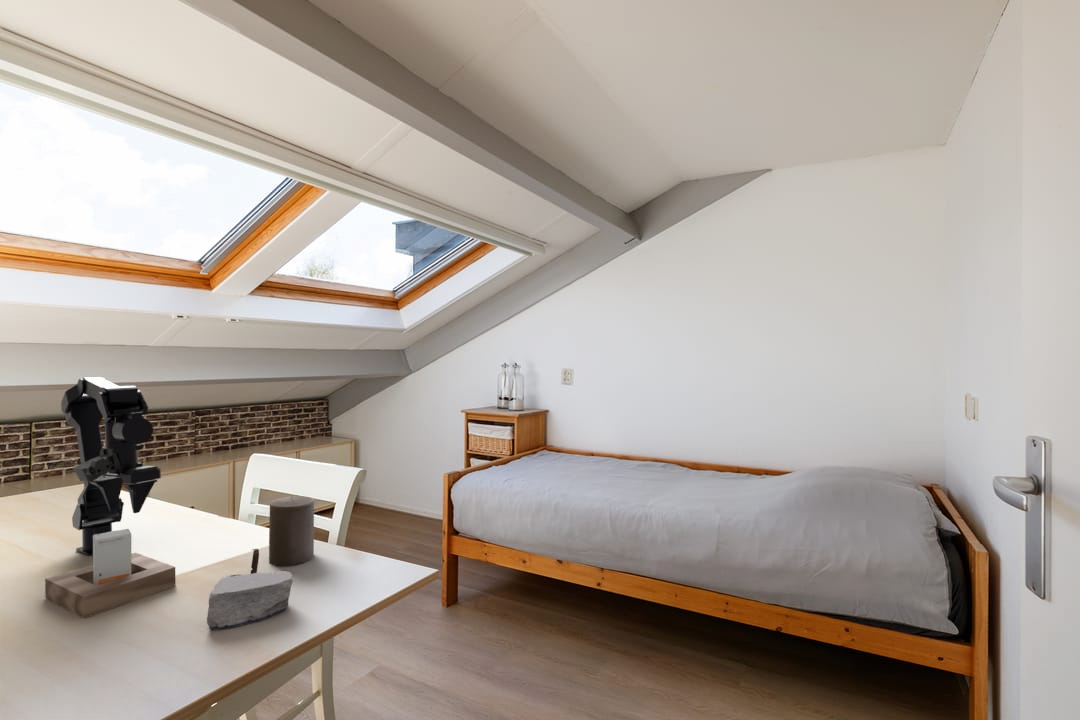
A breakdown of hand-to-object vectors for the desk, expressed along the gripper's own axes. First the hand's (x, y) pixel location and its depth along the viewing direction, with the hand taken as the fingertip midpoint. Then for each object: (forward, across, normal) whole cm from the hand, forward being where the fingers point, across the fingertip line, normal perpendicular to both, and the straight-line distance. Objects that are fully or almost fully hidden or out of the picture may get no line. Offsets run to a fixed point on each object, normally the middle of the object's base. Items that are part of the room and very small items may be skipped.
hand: (124, 511), depth 126 cm
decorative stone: (+16, +44, -2) cm, 46 cm away
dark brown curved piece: (+15, +31, +5) cm, 34 cm away
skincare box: (+14, +10, -8) cm, 19 cm away
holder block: (+14, +10, -8) cm, 19 cm away
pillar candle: (+15, +28, +21) cm, 38 cm away
